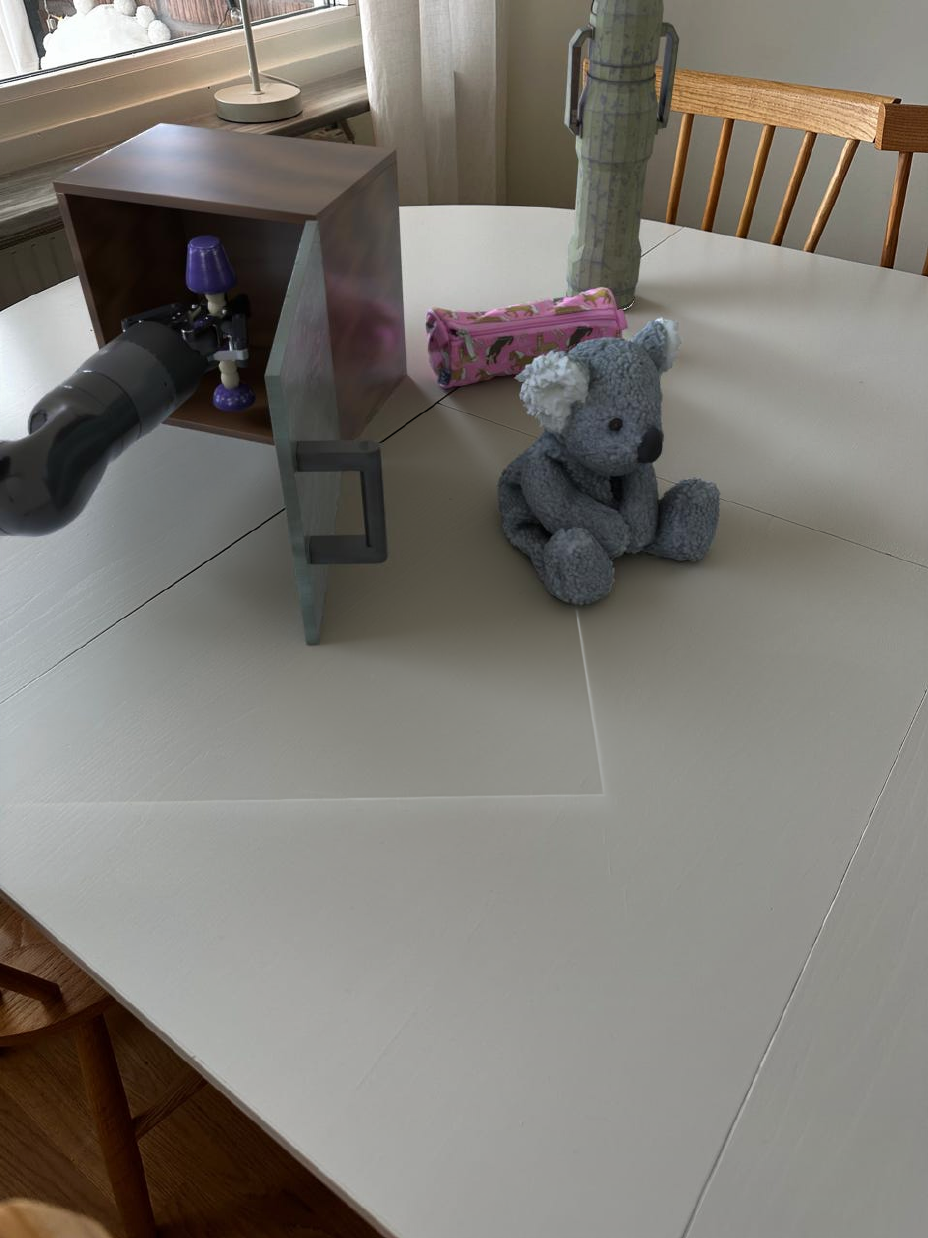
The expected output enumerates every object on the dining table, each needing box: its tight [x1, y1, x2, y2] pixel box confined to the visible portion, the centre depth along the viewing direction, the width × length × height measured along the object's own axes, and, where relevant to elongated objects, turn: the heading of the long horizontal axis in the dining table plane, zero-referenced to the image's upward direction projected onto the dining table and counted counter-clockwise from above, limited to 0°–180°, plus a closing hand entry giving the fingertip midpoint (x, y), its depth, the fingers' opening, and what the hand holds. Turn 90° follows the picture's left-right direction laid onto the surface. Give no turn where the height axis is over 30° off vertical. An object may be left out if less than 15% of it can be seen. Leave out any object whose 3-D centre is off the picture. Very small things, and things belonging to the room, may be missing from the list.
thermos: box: [563, 0, 680, 310], centre depth 112 cm, size 9×12×35 cm
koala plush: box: [496, 315, 721, 606], centre depth 82 cm, size 17×18×20 cm
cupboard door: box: [264, 221, 389, 646], centre depth 79 cm, size 7×26×24 cm, turn 1°
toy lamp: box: [186, 236, 256, 412], centre depth 94 cm, size 5×5×17 cm
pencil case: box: [425, 287, 629, 389], centre depth 107 cm, size 21×9×9 cm, turn 105°
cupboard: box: [51, 122, 408, 447], centre depth 99 cm, size 18×26×24 cm
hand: (234, 301), depth 95 cm, fingers closed on toy lamp
